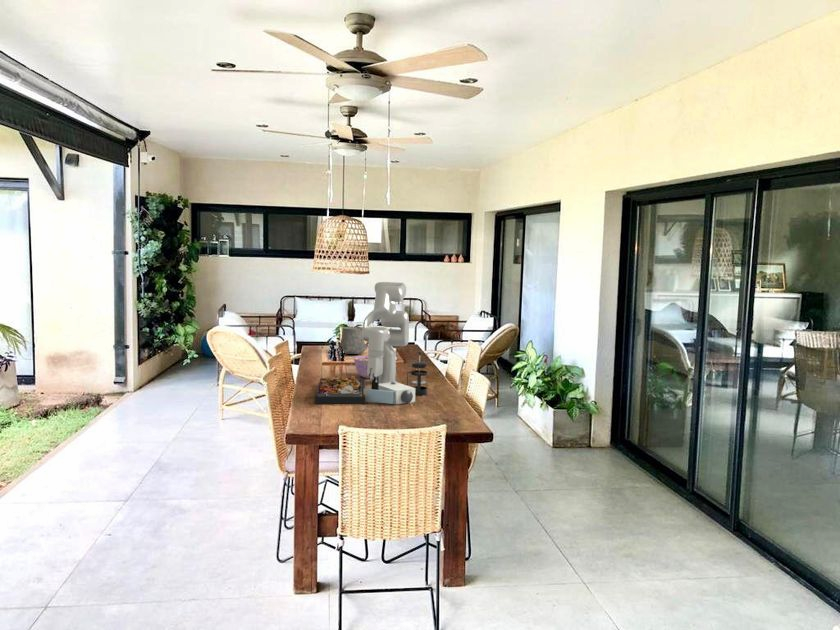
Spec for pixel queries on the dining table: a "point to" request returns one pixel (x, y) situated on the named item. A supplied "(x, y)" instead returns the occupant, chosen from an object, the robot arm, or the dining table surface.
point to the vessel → (353, 340)
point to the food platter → (340, 391)
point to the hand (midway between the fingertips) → (374, 389)
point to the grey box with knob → (400, 391)
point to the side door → (380, 396)
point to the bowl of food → (362, 365)
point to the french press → (419, 377)
